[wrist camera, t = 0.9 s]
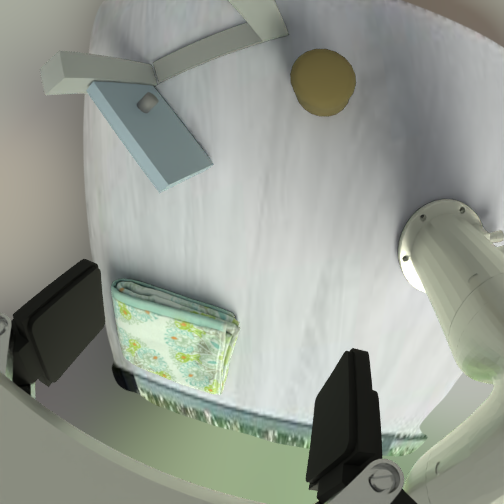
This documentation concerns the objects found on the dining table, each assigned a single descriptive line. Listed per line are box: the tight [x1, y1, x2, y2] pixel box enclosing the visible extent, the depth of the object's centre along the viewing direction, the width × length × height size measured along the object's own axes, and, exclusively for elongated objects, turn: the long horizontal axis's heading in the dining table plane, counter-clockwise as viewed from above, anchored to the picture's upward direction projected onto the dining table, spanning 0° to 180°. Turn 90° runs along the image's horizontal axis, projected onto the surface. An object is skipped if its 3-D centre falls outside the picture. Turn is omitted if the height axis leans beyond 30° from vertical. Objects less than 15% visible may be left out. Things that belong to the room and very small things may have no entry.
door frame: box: [40, 0, 289, 95], centre depth 22 cm, size 20×3×16 cm, turn 108°
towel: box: [111, 279, 240, 395], centre depth 46 cm, size 18×21×5 cm
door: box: [86, 81, 213, 193], centre depth 27 cm, size 13×3×11 cm, turn 38°
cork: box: [290, 49, 356, 116], centre depth 23 cm, size 6×6×11 cm
